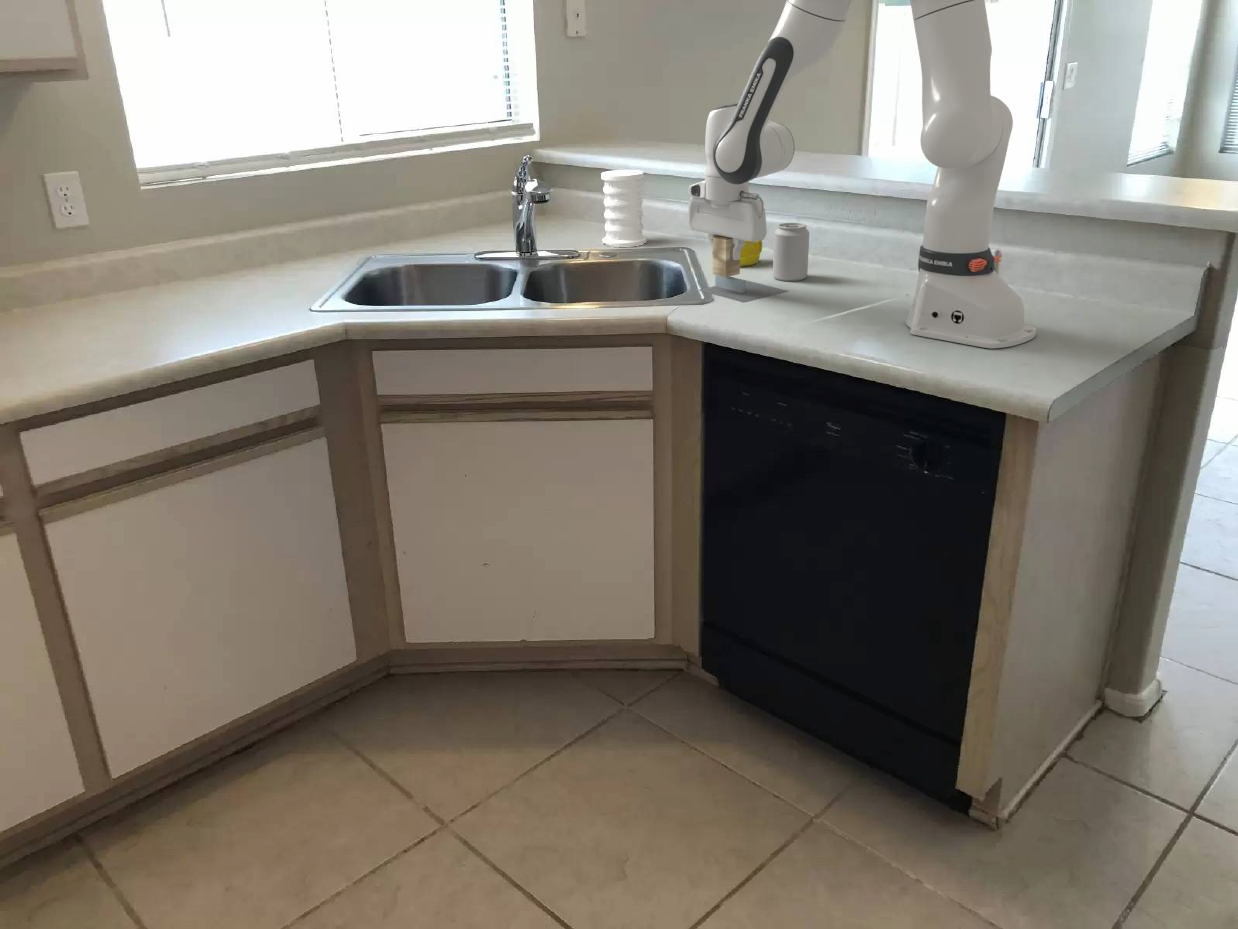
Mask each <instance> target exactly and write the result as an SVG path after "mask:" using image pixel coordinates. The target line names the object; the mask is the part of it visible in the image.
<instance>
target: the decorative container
mask: <svg viewBox="0 0 1238 929" xmlns="http://www.w3.org/2000/svg"><path fill="white" fill-rule="evenodd" d="M600 176H601V177H600V179H601V180H603V181H604V182H603V183H604V186H603V188H602V192H603V193H604V199H603V205H604V208H605V211H604V213H603V215H604V219H605V225H604V230H605V233H606V235H605V237H603V238H602V244H603V243H606V244H609V245H614V246H636V245H641V244H644V243H646V244H647V237H646V236H645V235H643V229H644V223H643V220H642V219H643V216H644V213H643V212H644V211H643V209H642V205H643V201H644V200H643V198H642V192H643V185H642V181H641V180H642V179H644V171H642V170H637V169H618V170H617V169H615V170H608V171H603V172H601V174H600ZM644 245H645V244H644Z"/></svg>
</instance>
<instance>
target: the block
mask: <svg viewBox="0 0 1238 929" xmlns="http://www.w3.org/2000/svg"><path fill="white" fill-rule="evenodd" d="M734 246H735V244H733V238H729V237H724V236H719V235H715V236H713V254H712V275H714V276H715V275H718V276H722V277H729V276H730V277H734V276H738V275H741V274H740V272H741V267H740V259H739V260H732V259H730V251H733V248H734Z"/></svg>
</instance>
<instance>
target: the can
mask: <svg viewBox="0 0 1238 929" xmlns="http://www.w3.org/2000/svg"><path fill="white" fill-rule="evenodd" d="M807 226H808V225H807V224H806V223H802V222H783V223H779V224H777V228H776V230H775V231H774V232H773V259H772V260H773V261H772V262H773V263H772V277H774V279H775V280H778V281H782V282H798V281H802V280H804V279H806V278H807V277H808V271H809V270H808V269H809V250H810V249H809V248H810V245H809V244H810V230H809V229H807Z"/></svg>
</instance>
